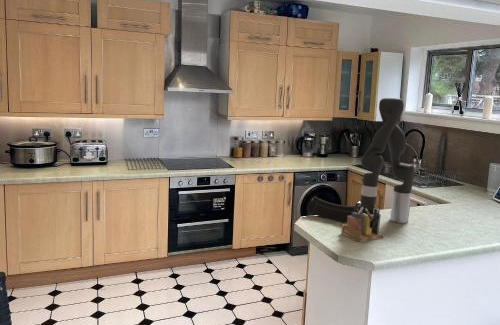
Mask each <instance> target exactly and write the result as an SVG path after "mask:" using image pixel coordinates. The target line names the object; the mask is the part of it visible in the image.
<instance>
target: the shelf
mask: <svg viewBox="0 0 500 325" xmlns="http://www.w3.org/2000/svg"><path fill="white" fill-rule="evenodd" d="M363 225H364V215H362V214H360V213H357V212H353V213H352V215H351V216H347V223H343V224H342V225H341V233H340V235H343V236H345V237H347V238H349V239H350V240H353V241H355V242H356V243H361V242H366V241H371V240H378V239H383V238H384V234H382V233H380V232H379V234H376V233H373V232H371V234H368V235H365V234H363Z"/></svg>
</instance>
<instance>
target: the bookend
mask: <svg viewBox="0 0 500 325" xmlns="http://www.w3.org/2000/svg"><path fill="white" fill-rule="evenodd" d="M371 215H372V214H371ZM376 218H377V216H376ZM381 218H382V216H381V214H380V213H379V220H378V221H375V227H374V228H372V232H373V233H376V234H379V233H380V225H381Z"/></svg>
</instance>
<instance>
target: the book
mask: <svg viewBox="0 0 500 325" xmlns="http://www.w3.org/2000/svg"><path fill="white" fill-rule="evenodd" d="M362 215H364V225H363V234H365V235H368V234H371V232H372V228H370V221H371V220H370V217H369V216H368V215H367V214H365V213H363V214H362ZM372 218H373V217H372Z"/></svg>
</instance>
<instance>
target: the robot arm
mask: <svg viewBox="0 0 500 325" xmlns="http://www.w3.org/2000/svg"><path fill="white" fill-rule="evenodd" d="M378 103H379V104H378V110H379V114H380V119H381V121H382V124H383V125H382V126H381V127H380V128H379V129H377V131H376V132H375V133H374V135H373V138H372V141H371V143H370V146H369V147H368V148H367V149H366V151H365V152H364V154H363V155H362V157H361V158H360V159H361V161H360V164H361V166H362V167H363V168H365V169H370V170H371V169H372V172H366V173H364V174H363V178H362V186H361V191H360V198H359V199H360V201H357V202H355V206H356V207H355V212H357V213H360V214H367V215H368V216H369V217H370V220H371V221H370V228H374V227H375V221H378V220H379V214H380V208H376V207H375V205H376V203H377V197H378V184H379V182H378V181H379V176H380V173H381V171H382V169H383V166H384V162H385V160H384V158H383V156H382V155H378V154H382V153H384V151H385V150H386V146H388V150H389V154H390V161H391V171H392V175H393V177H394V178H395V179H397V180H402V181H403V183H401V184H396V185H394V186H393V192H392V201H391V208H390V209H391V210H390V217H389V220H390V221H391V222H394V223H398V224H406V223H407V222H409V220H410V219H409V218H410V209H411V204H410V203H411V202H410V201H411V196H412V195H411V194H412V193H411V192H412V189H413V185H414V179H415V173H416V169H415V168H416V167H415V166H414V165H412V164H410V163H409V164H408V163H404V162H402V161H401V156H402V154H403V153H404V152H405V149H406V147H407V140H406V139H407V138H406V136H405V135H406V134H405V133H404V131H403V130H402V128H400V126H399V125H398V121H399V120H400V117H401V116H402V114H403V111H404V107H405V106H404V100H403V99H401V98H399V97H397V98H396V97H382V98H381V99H380V100H379V102H378ZM371 214H372V215H371ZM376 216H377V218H376ZM372 217H373V218H372Z"/></svg>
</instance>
